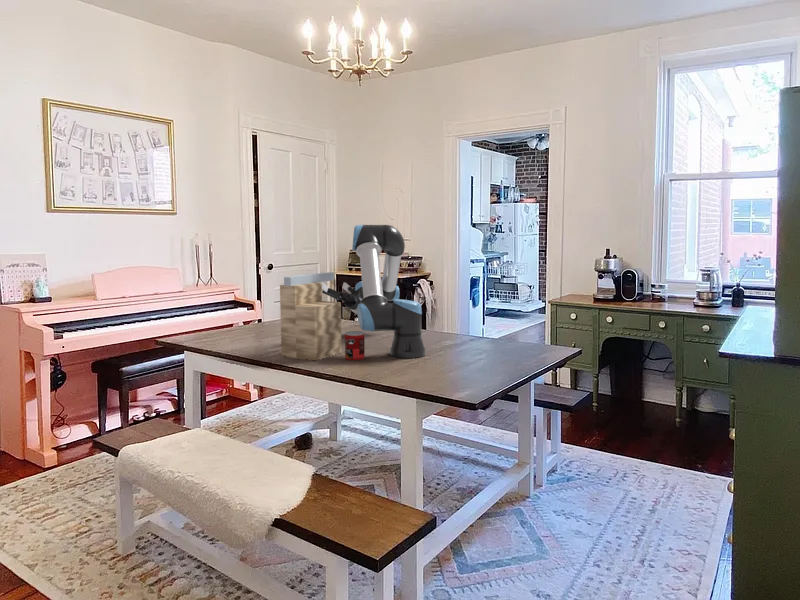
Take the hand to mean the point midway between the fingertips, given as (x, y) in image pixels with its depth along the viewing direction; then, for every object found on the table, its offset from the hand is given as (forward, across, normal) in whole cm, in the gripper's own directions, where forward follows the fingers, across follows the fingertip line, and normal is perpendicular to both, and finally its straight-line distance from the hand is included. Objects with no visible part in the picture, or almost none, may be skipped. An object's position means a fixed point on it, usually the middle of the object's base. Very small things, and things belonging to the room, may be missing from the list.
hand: (331, 284), depth 273 cm
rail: (+15, 0, -6) cm, 16 cm away
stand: (+5, -4, -35) cm, 36 cm away
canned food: (+2, -26, -34) cm, 43 cm away
